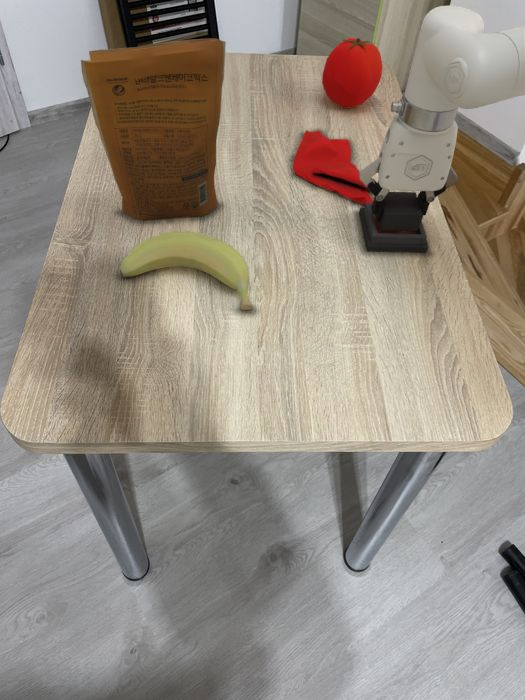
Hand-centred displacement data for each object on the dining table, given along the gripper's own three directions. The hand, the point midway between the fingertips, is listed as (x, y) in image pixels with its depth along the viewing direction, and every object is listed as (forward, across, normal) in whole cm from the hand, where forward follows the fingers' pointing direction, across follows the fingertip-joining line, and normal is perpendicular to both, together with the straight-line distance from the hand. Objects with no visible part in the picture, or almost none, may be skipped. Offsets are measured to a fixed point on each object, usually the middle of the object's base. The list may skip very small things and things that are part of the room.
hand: (397, 216), depth 89 cm
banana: (+4, -32, -13) cm, 35 cm away
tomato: (+3, -3, +43) cm, 43 cm away
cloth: (+4, -9, +18) cm, 21 cm away
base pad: (+3, 0, 0) cm, 3 cm away
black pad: (+1, 0, 0) cm, 1 cm away
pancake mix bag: (+4, -38, +4) cm, 38 cm away
